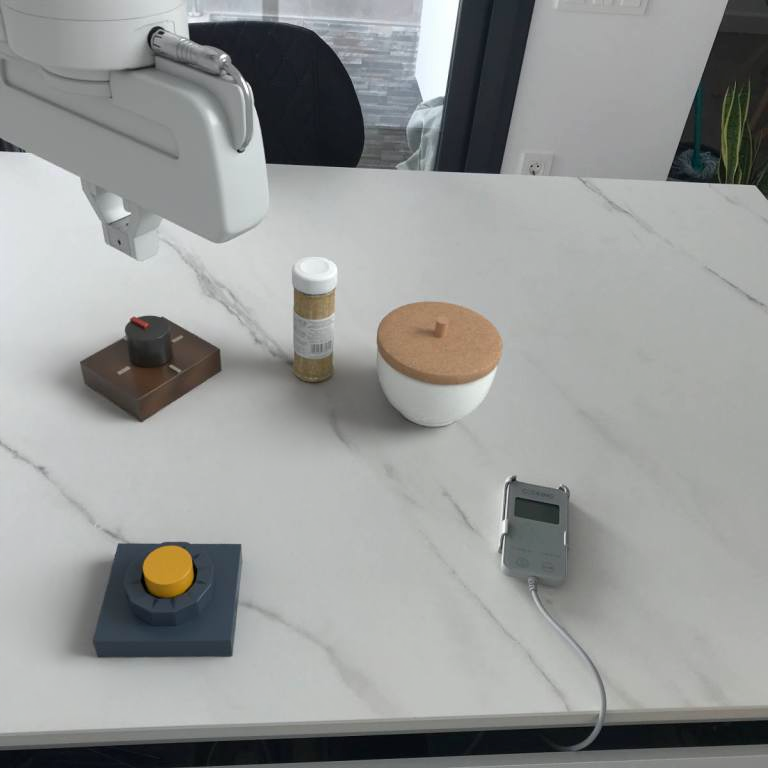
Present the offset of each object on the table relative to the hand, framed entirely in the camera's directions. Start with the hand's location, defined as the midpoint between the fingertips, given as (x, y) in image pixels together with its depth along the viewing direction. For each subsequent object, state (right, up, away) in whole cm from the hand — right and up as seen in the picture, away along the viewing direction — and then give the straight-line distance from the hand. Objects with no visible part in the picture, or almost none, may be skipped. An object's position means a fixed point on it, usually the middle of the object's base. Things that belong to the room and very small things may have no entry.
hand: (132, 250), depth 48 cm
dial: (-9, -5, +34) cm, 35 cm away
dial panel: (-9, -8, +36) cm, 37 cm away
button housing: (-1, -26, +14) cm, 30 cm away
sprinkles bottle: (+7, -7, +38) cm, 40 cm away
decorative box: (+20, -11, +36) cm, 42 cm away
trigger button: (-1, -23, +12) cm, 26 cm away
